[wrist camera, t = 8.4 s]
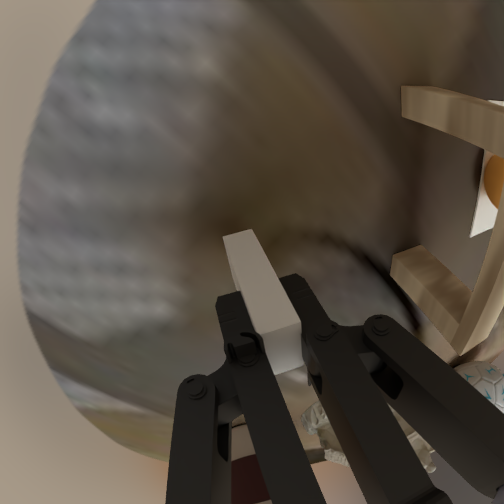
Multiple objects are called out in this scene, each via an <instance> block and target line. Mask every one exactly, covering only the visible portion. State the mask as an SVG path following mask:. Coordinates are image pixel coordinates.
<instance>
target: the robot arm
mask: <svg viewBox="0 0 504 504" xmlns="http://www.w3.org/2000/svg"><path fill="white" fill-rule="evenodd" d="M223 241H224V245H225V249H226V253H227V257H228V261H229V265H230V269H231V273H232V277H233V280H234V283H235V286H236V289H237V292H233V293H230V294H226V295H223V296H219V297H218V298H217V302H216V305H215V307H216V311H217V315H218V319H219V323H220V327H221V331H222V335H223V339H224V351H225V354H226V360H225V362H224V364H223V365H222V366H221V368H219V369H218V370H217V371H215V372H214V373H212V374H210V375H209V376H206V375H200V374H197V375H192V376H189V377H188V378H186V379H184V380H183V382H182V383H181V384H180V386H179V389H178V392H177V400H176V408H175V415H174V424H173V432H172V441H171V450H170V459H169V469H168V480H167V491H166V503H165V504H231V446H232V420H234V419H235V418H237V417H239V416H240V415H242V414H244V417H245V421H246V424H247V427H248V431H249V434H250V437H251V440H252V444H253V447H254V450H255V453H256V456H257V459H258V462H259V466H260V469H261V472H262V475H263V478H264V481H265V484H266V487H267V490H268V493H269V496H270V498H271V501H272V504H326V501H325V499H324V497H323V494H322V492H321V490H320V487H319V485H318V482H317V480H316V477H315V475H314V473H313V470H312V468H311V465H310V463H309V460H308V458H307V456H306V453H305V451H304V448H303V446H302V443H301V441H300V438H299V436H298V433H297V431H296V428H295V426H294V423H293V421H292V418H291V416H290V413H289V411H288V408H287V406H286V403H285V401H284V398H283V396H282V393H281V391H280V388H279V386H278V383H277V380H276V378H275V375H277V374H280V373H283V372H286V371H289V370H292V369H295V368H298V367H301V366H303V360H304V362H305V364H306V366H307V371H308V385H309V386H310V385H311V383H312V385H313V388H314V390H315V392H316V394H317V396H318V398H319V400H320V403H321V405H322V407H323V409H324V411H325V413H326V416H327V418H328V420H329V422H330V424H331V426H332V428H333V431H334V433H335V435H336V437H337V439H338V441H339V443H340V446H341V448H342V450H343V452H344V454H345V456H346V459H347V461H348V463H349V465H350V467H351V469H352V471H353V473H354V476H355V478H356V480H357V482H358V484H359V486H360V488H361V491H362V493H363V495H364V497H365V499H366V501H367V504H453V503H452V501H451V500H450V498H449V497H448V495H447V494H446V493H444V491H442V490H440V489H437V488H436V487H435V486H434V485H433V483H432V481H431V480H430V478H429V476H428V474H427V472H426V470H425V469H424V467H423V465H422V463H421V461H420V460H419V458H418V456H417V454H416V452H415V451H414V449H413V447H412V445H411V444H410V442H409V440H408V438H407V437H406V435H405V433H404V431H403V430H402V428H401V426H400V424H399V423H398V421H397V419H396V417H395V416H394V414H393V412H392V411H391V409H390V407H389V406H388V404H389V405H390V406H391V407H392V408H393V409H394V410H395V411H396V412H397V413H398V414H399V415H400V416H401V417H402V418H403V419H404V420H405V421H406V422H407V423H408V424H409V425H410V426H411V427H412V428H413V429H414V430H415V431H416V432H417V433H418V434H419V435H420V436H421V437H422V438H423V439H424V440H425V441H426V442H427V443H428V444H429V445H430V446H431V447H432V448H433V449H434V450H435V451H436V452H437V453H438V454H439V455H440V456H441V457H442V458H443V459H444V460H445V461H447V463H449V464H450V465H451V466H452V467H453V468H454V469H455V470H456V471H457V472H458V473H459V474H460V475H461V476H462V477H463V478H464V479H465V480H466V481H467V482H468V483H469V484H470V485H471V486H472V487H474V488H475V489H476V490H477V491H479V492H481V493H482V494H484V495H486V496H488V497H490V498H493V499H494V500H493V501H492V502H491V504H504V413H503V412H502V411H500V410H499V409H498V408H497V407H496V406H495V405H494V404H493V403H491V402H490V401H489V400H488V399H487V398H486V397H485V396H484V395H482V394H481V393H480V392H479V391H478V390H477V389H476V388H475V387H473V386H472V385H471V384H470V383H469V382H468V381H466V380H465V379H464V378H463V377H462V376H461V375H460V374H458V373H457V372H456V371H455V370H454V369H453V368H451V367H450V366H449V365H448V364H447V363H446V362H444V361H443V360H442V359H441V358H440V357H438V356H437V355H436V354H435V353H434V352H432V351H431V350H430V349H429V348H428V347H427V346H425V345H424V344H423V343H422V342H421V341H419V340H418V339H417V338H416V337H414V336H413V335H412V334H411V333H410V332H408V331H407V330H406V329H405V328H404V327H402V326H401V325H400V324H399V323H397V322H396V321H395V320H394V319H392V318H391V317H389V316H386V315H381V314H380V315H374V316H371V317H369V318H368V319H367V320H366V321H365V323H364V325H361V326H341V325H338V324H337V323H336V322H334V321H331V320H330V318H329V317H328V316H327V314H326V312H325V311H324V309H323V307H322V306H321V304H320V303H319V301H318V299H317V298H316V296H315V295H314V293H313V291H312V290H311V288H310V287H309V285H308V283H307V282H306V280H305V279H304V278H302V277H301V276H299V275H298V274H296V273H295V274H292V275H288V276H285V277H282V278H278V277H277V275H276V273H275V271H274V270H273V268H272V266H271V264H270V262H269V260H268V258H267V256H266V255H265V253H264V251H263V249H262V247H261V245H260V243H259V241H258V240H257V238H256V236H255V234H254V232H253V230H252V229H249V230H245V231H241V232H238V233H234V234H230V235H227V236H223ZM387 403H388V404H387Z"/></svg>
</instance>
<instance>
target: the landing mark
mask: <svg viewBox="0 0 504 504" xmlns="http://www.w3.org/2000/svg"><path fill="white" fill-rule="evenodd" d="M488 101H489V102H492V103H495V104H498V105H501V106H504V101H496V100H488ZM493 155H494V154H493V153H491V152H489V151H487V150H485V149H484V157H483V165H482V172H481V179H480V185H479V191H478V196H477V202H476V207H475V212H474V216H473V221H472V225H471V230H470V234H469V237H472V236H475V235H477V234H479V233H482V232H484V231H486V230H488V229H490V228H493V227H494V224H495V220H496V216H497V212H498V209H497V208H496V207H495V206H494V205H493V204H492V203H491V201H490V200H489V198H488V196H487V194H486V191H485V187H484V172H485V168H486V165H487V163H488V161H489V160H490V158H491V157H492V156H493Z"/></svg>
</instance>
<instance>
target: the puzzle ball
mask: <svg viewBox="0 0 504 504" xmlns="http://www.w3.org/2000/svg"><path fill="white" fill-rule="evenodd" d="M454 370H455V371H456V372H457V373H458V374H460V375H461V376H462V377H463V378H464V379H465V380H466V381H468V382H469V383H470V384H471V385H472V386H473V387H475V388H476V389H477V390H478V391H479V392H480V393H481V394H482V395H484V396H485V397H486V398H487V399H488V400H489V401H490V402H491V403H493V404H494V405H495V406H496V407H497V408H498V409H499V410H500V411H502V412H503V413H504V374H502V373H501V371H500V370H499V369H497V367H496V366H494V365H492V364H490V363H488V362H485V361H472V362H468V363H464V364H461V365H459V366H457V367H455V368H454Z"/></svg>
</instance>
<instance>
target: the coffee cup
mask: <svg viewBox="0 0 504 504" xmlns="http://www.w3.org/2000/svg"><path fill="white" fill-rule="evenodd" d="M231 504H272V501H271V498H270V496H269V493H268V490H267V487H266V484H265V481H264V478H263V475H262V472H261V469H260V466H259V462H258V459H257V456H256V453H255V450H254V447H253V444H252V440H251V437H250V434H249V431H248V427H247V424H245V425H241V426H237V427H234V428H232V446H231Z"/></svg>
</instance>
